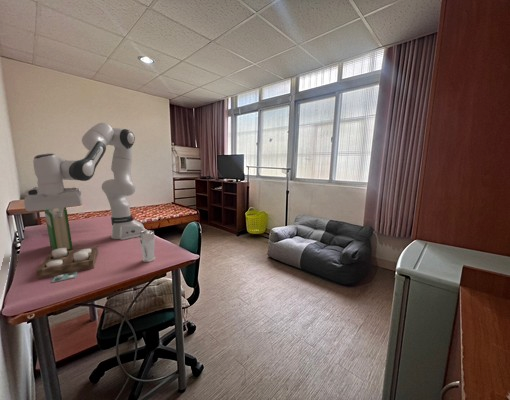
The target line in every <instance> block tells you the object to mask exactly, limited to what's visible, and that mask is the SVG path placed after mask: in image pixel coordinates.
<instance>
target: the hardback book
mask: <svg viewBox="0 0 510 400" xmlns="http://www.w3.org/2000/svg"><path fill="white" fill-rule="evenodd" d="M43 211H44V216H45V222H46V228H47V234H48V238H49V239H48V240H49V244H50V247H51V249H52V251H53V250H55V249H58V248H67V250H69V251H72V250H73V241H72V235H71V228H70V224H69V216H68V209H66V208H64V210H63V212H62V217H59V218H54V217H53V215H52V214H51V213H50V212H49V209H47V210H43ZM60 211H61V210H59V208H57V209H54V210H53V212H55V213H56V214H57V213H60Z"/></svg>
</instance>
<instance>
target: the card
mask: <svg viewBox="0 0 510 400" xmlns="http://www.w3.org/2000/svg"><path fill="white" fill-rule="evenodd" d="M78 273H79V271H77V272H71V273H66V274H61V275H56V276H53V279H52V280H51V284H52V283H58V282H62V281H67V280H72V279H76V277H77V275H78Z"/></svg>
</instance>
